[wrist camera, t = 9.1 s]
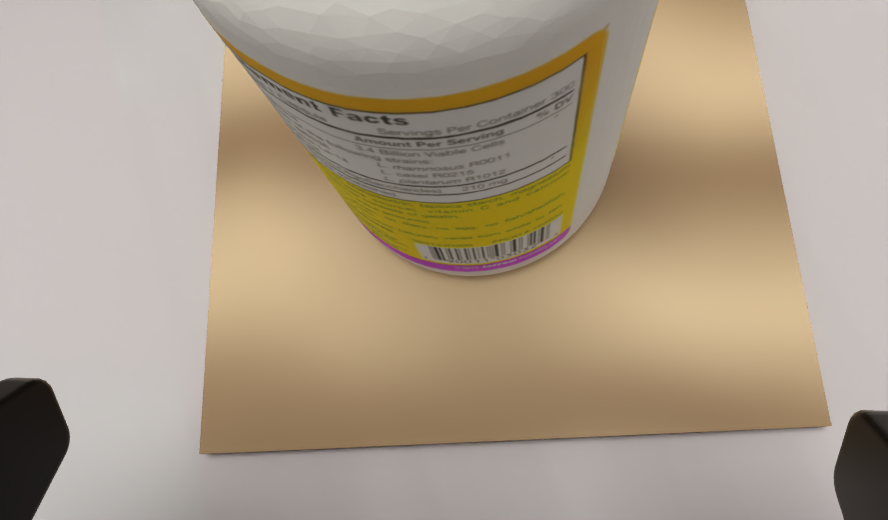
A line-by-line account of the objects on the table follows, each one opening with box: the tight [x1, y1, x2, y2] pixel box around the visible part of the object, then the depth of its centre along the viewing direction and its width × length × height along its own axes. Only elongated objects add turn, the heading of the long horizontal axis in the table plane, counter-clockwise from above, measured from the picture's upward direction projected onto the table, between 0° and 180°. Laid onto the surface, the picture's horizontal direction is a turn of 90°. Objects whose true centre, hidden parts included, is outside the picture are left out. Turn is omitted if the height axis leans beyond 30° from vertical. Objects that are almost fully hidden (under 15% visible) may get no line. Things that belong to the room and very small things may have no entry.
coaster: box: [200, 0, 831, 454], centre depth 17 cm, size 14×14×1 cm
